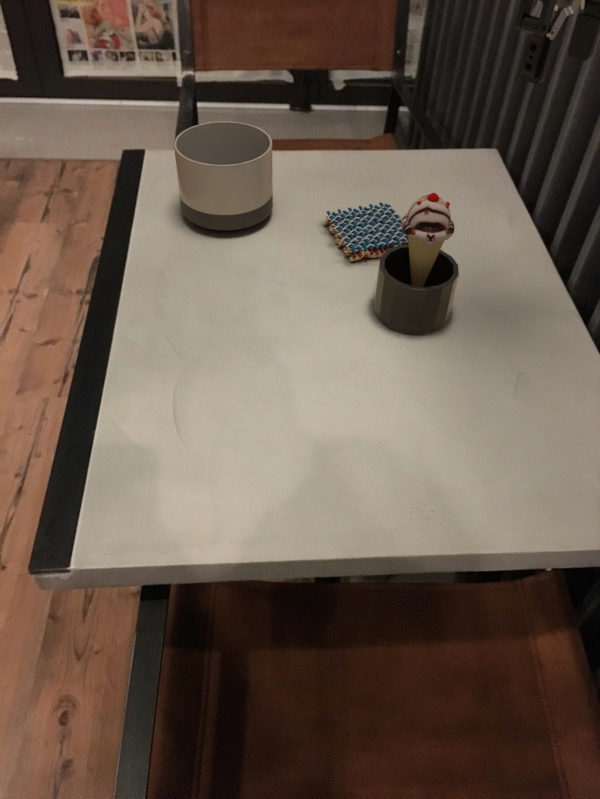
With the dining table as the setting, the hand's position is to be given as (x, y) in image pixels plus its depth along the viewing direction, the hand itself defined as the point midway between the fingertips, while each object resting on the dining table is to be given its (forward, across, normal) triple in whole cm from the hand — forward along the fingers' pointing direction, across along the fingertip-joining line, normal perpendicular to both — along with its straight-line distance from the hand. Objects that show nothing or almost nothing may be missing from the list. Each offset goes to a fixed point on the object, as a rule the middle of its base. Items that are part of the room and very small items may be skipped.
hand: (555, 69), depth 63 cm
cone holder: (+28, -7, +6) cm, 30 cm away
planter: (+28, -9, +38) cm, 48 cm away
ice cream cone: (+28, -7, +6) cm, 29 cm away
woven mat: (+28, +2, +20) cm, 35 cm away
